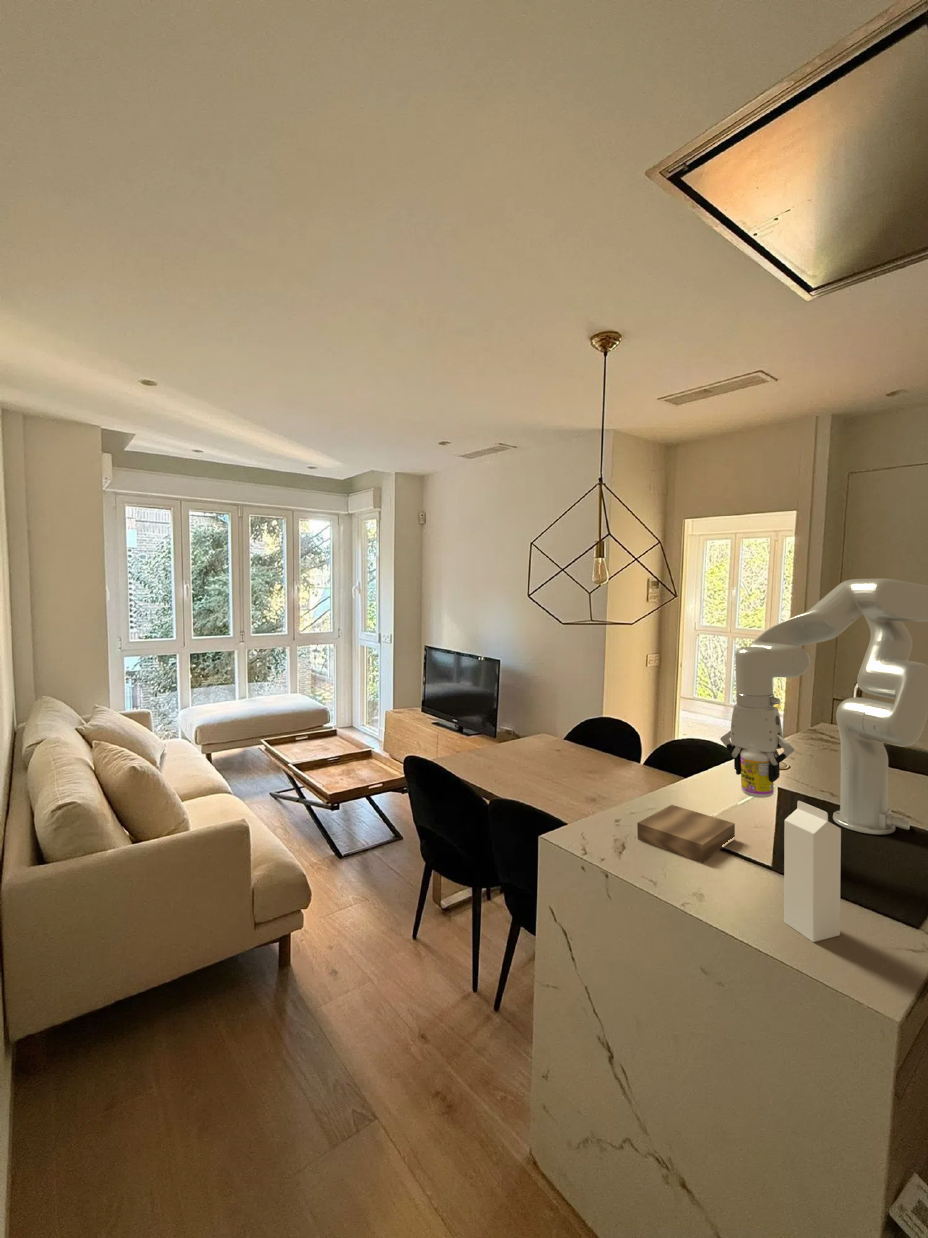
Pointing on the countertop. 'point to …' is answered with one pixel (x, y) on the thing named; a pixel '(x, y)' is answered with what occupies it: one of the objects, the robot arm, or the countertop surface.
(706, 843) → the plinth
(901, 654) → the robot arm
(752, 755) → the supplement bottle
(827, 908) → the milk
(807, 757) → the countertop surface
